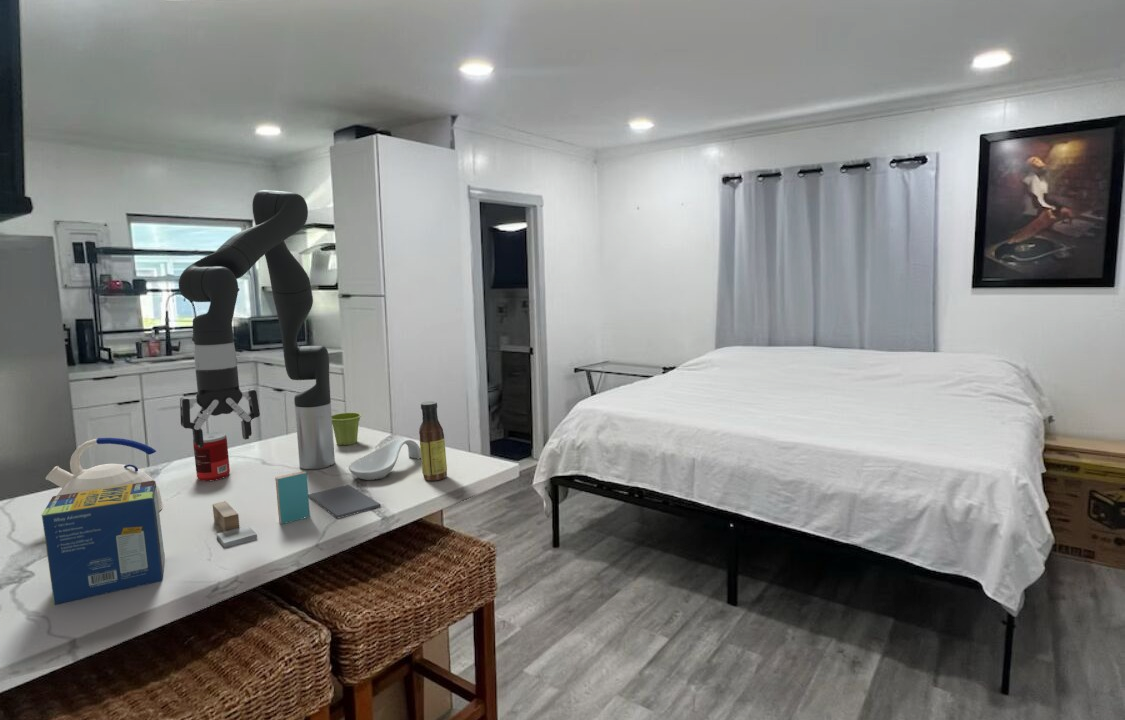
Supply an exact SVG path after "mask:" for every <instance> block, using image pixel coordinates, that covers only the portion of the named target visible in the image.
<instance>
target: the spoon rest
mask: <svg viewBox="0 0 1125 720" xmlns="http://www.w3.org/2000/svg"><path fill="white" fill-rule="evenodd" d="M404 445H406V446H407V451H408V457H409V458H410V457H411V458H410V459H416V458H421V449H420V445H419V444H418V443H417V442H416V441H414V440H411V439H405V438H395V439H394V440H392V441H390V442H388V443H386V444H385V445H383V446H381V447H379V448H377V449H376V450H374V451H372V452H370V453H368V454H366V455H364V456H362V457H359V458H358V459H356V460H354V461H353V462H351V463H350V464H349V465H348V470H349V472H350V473H351V474H352V475H353V476H355V477H356V478H357V479H358V478H359V479H361V480H365V481H366V480H367V481H375V479H376V480H380V479H384V478H385V477H387V476H388V474H390V473H391V472H392V470H393V469H394V467H395V466H396V464H397V462H398V458H399V454H400V451H401V449H402V447H403V446H404ZM386 475H387V476H386Z"/></svg>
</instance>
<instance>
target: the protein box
mask: <svg viewBox="0 0 1125 720" xmlns="http://www.w3.org/2000/svg"><path fill="white" fill-rule="evenodd" d="M156 485H157V483H156V481H155V480H153V481H147V482H141V483H135V484H128V485H122V486H116V487H110V488H103V489H96V490H90V491H84V492H78V493H72V494H65V495H58V494H57V495H58V496H57V495H54V496H53V495H52V497H51V498H50V500H49V502H48V504H47V505H46V507H45V509H44V510H43V512H42V513H41V520H42V527H43V533H44V540H45V547H46V554H47V563H48V569H49V570H48V571H49V578H50V584H51V586H50V587H51V592H52V599H53V604H54V605H59V604H63V603H68V602H72V601H76V600H77V601H78V600H81V599H86V598H92V597H96V596H100V595H104V594H105V595H106V594H109V593H113V592H117V591H121V590H122V591H123V590H127V589H131V588H132V589H133V588H137V587H141V586H145V585H149V584H154V583H158V582H162V581H163V580H164V569H165V561H166V560H165V559H166V556H165V555H166V554H165V548H164V541H163V531H162V525H161V517H160V511H159V507H158V498H157V490H156Z"/></svg>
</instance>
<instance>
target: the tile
mask: <svg viewBox="0 0 1125 720" xmlns="http://www.w3.org/2000/svg"><path fill="white" fill-rule="evenodd" d="M274 481H275V490H276V500H277V513H278V523H279V524H280V525H284V524H287V523H286V522H288V523H291V522H290V521H292V522H295V521H294V520H296V521H298V519H300V520H302V519H301V518H303V519H305V518H304V517H307V518H309V517H308V516H310V517H311V513H310V512H311V511H310V500H309V499H310V498H309V497H308V494H309V483H308V473H307V472H306V471H304V470H303V471H299V472H294V473H289V474H285V475H280V476H275V479H274ZM283 523H284V524H283Z"/></svg>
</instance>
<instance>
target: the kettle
mask: <svg viewBox="0 0 1125 720" xmlns="http://www.w3.org/2000/svg"><path fill="white" fill-rule="evenodd" d="M109 444H110V445H119V446H125V447H131V448H134V449H136V450H139V451H141V452H143V453H145V454H146V455H152V454H154V453H155V454H156V452H157V450H156V449H154V448H153V447H151V446H149V445H147V444H145V443H142V442H139V441H136V440H132V439H127V438H126V439H125V438H120V437H119V438H118V437H98V438H94V439H90V440H87V441H85V442H83V443H82V444H80V445H78V446H77V447H76V449H75V451H73V453H72V455H71V457H70V461H69V465H70V466H69V467H70V472H69V471H67V470H65V469H62V468H61V467H60V466H59V465H57V466H54V467H53V469H52V470H50V472H49V473H48V474H47V475H46V476H45V480H46V481H49V482H51V483H53V484H54V485H56V486H58V487H60V488H61V489H60V491H59V492H58V493H57V494H56V496H58V495H65V494H72V493H78V492H84V491H90V490H96V489H103V488H110V487H116V486H122V485H128V484H135V483H141V482H147V481H154V479H153V478H152V477H151V476H150V475H148V474H147V473H146V472H145V471H143V470H142V469H140V468H138V467H137V466H136V465H134V464H123V463H122V464H121V463H106V464H105V463H104V464H98V465H96V466H92V467H90V468H88V469H86V468H84V469H83V467H82V466H81V457H82V456H81V455H82V454H83V453H84V452H85V450H87V449H88V448H90V447H91V446H95V445H109ZM156 490H157V498H158V507H159V512H160V511H161V510H162V509H163V507H164V504H163V501H162V495H161V493H160V487H159V486H158V485H157V484H156Z"/></svg>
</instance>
